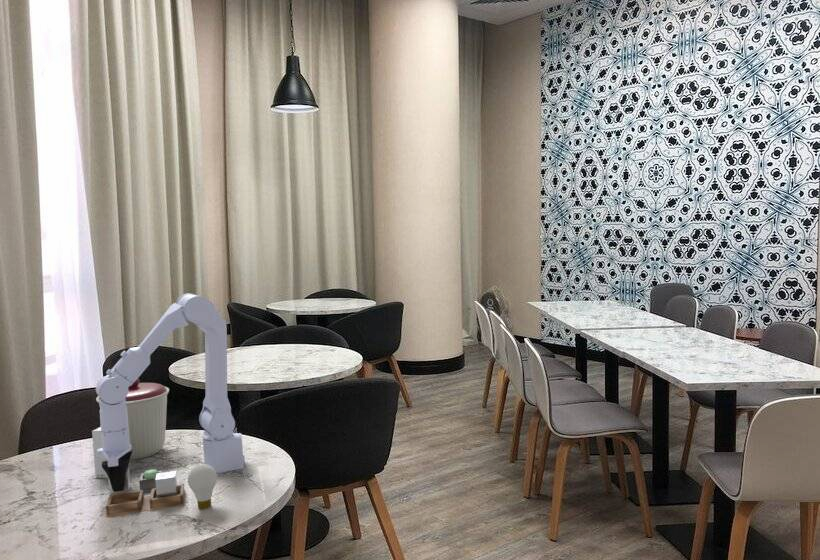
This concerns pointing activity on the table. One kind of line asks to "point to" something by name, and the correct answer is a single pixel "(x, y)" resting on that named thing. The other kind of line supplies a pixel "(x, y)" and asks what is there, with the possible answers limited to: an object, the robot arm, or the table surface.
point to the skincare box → (98, 457)
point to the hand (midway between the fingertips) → (120, 487)
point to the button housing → (147, 482)
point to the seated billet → (166, 484)
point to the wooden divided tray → (142, 501)
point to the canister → (146, 418)
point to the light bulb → (202, 484)
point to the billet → (127, 483)
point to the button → (150, 473)
